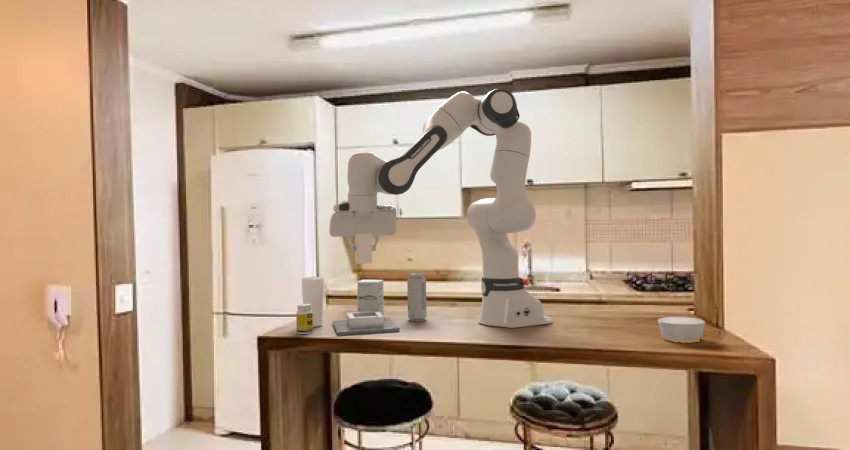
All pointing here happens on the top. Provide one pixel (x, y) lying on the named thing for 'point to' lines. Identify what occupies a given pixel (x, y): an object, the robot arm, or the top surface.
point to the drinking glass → (314, 297)
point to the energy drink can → (416, 297)
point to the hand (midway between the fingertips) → (363, 251)
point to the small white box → (363, 248)
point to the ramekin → (681, 328)
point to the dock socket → (365, 323)
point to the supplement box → (370, 295)
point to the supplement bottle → (304, 319)
